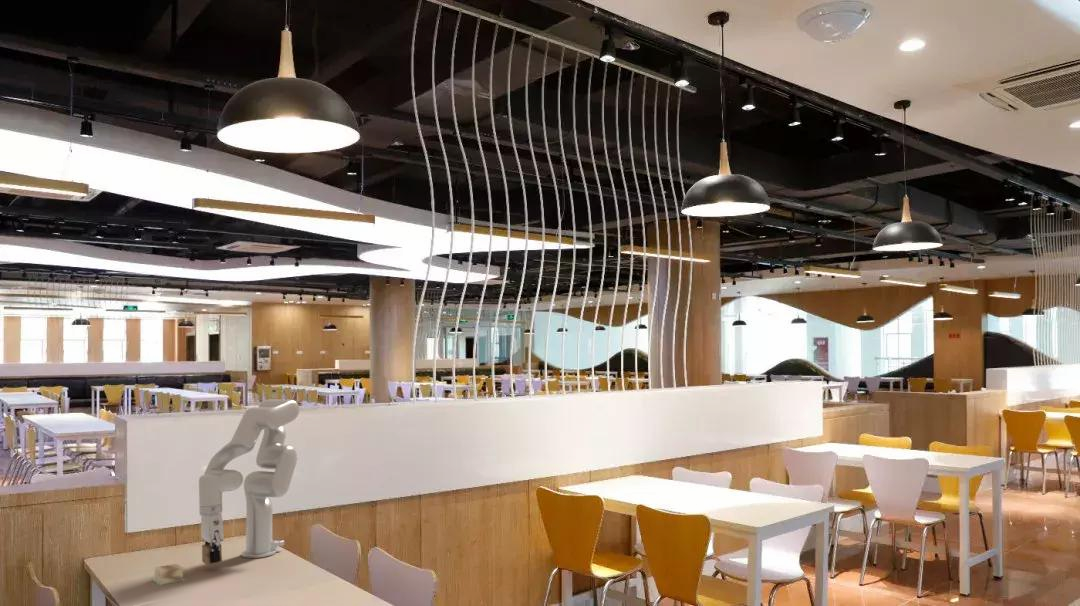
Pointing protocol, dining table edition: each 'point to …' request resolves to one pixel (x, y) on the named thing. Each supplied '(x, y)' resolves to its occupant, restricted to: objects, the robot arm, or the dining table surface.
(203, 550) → the walnut block
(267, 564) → the dining table surface
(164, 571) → the maple block
